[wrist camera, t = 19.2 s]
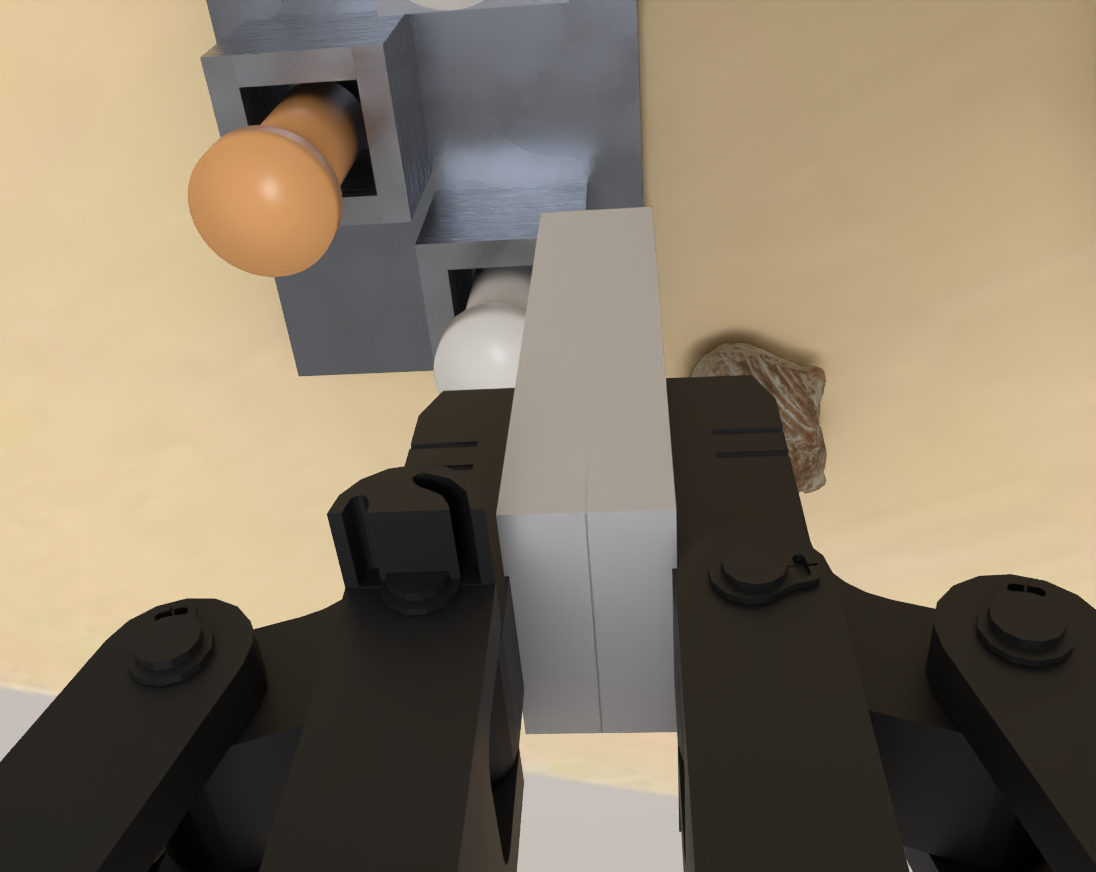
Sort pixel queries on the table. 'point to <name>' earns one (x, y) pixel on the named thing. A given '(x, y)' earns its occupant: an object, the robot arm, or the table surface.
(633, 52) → the gray socket stand
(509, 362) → the plug
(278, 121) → the plug terracotta
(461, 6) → the plug
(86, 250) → the table surface
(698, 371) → the seashell
